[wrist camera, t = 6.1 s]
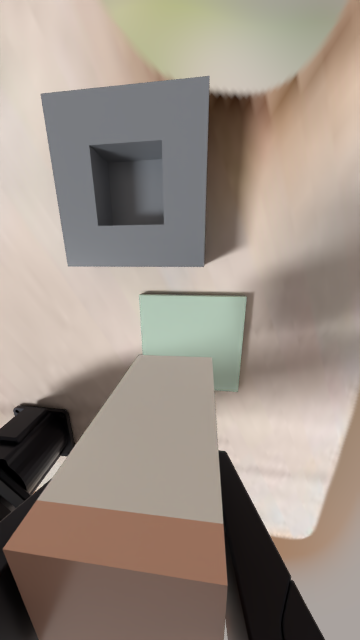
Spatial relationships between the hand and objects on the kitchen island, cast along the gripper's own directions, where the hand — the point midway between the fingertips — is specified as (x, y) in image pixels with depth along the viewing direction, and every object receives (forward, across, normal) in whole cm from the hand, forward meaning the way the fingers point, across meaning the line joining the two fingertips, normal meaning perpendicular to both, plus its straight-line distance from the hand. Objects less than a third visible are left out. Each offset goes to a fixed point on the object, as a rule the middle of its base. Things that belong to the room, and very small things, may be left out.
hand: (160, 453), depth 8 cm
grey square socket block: (+12, +3, -12) cm, 17 cm away
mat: (+12, 0, +1) cm, 12 cm away
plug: (+4, 0, 0) cm, 4 cm away
